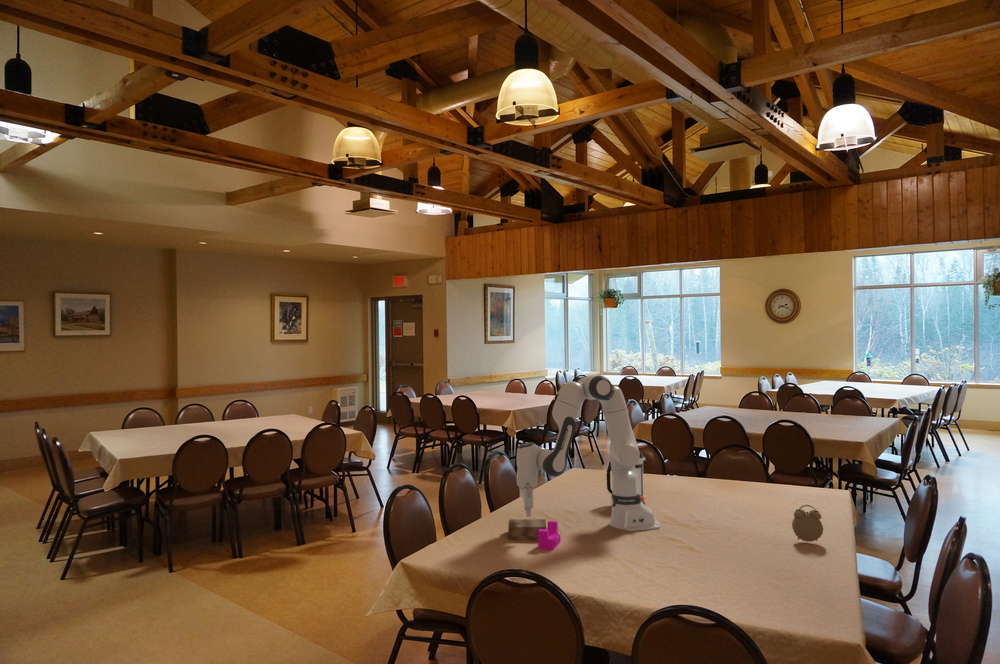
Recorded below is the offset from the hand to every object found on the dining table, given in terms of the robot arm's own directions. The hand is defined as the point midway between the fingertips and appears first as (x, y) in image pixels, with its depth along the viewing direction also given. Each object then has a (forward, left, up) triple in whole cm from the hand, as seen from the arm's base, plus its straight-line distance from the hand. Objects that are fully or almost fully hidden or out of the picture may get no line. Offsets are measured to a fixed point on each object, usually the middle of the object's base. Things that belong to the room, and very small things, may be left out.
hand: (527, 513), depth 266 cm
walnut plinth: (0, 0, -10) cm, 11 cm away
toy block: (-9, +10, -10) cm, 17 cm away
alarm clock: (-114, +15, -10) cm, 116 cm away
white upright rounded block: (-55, -47, -10) cm, 73 cm away
